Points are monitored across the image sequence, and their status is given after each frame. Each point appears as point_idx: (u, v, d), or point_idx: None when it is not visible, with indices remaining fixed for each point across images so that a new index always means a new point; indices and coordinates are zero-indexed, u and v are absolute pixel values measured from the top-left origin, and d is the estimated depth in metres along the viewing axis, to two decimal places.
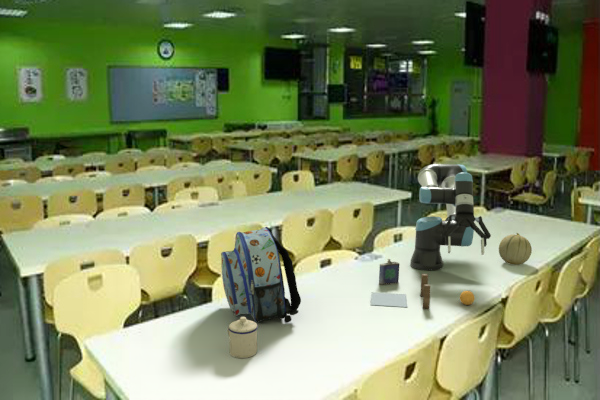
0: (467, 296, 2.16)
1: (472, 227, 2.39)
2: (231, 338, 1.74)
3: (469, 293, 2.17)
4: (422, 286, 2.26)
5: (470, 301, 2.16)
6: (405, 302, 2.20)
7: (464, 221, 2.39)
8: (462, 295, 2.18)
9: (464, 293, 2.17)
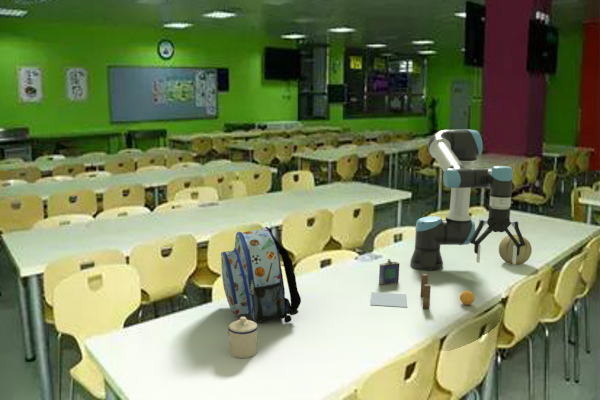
0: (467, 296, 2.16)
1: (506, 232, 2.13)
2: (231, 338, 1.74)
3: (469, 293, 2.17)
4: (422, 286, 2.26)
5: (470, 301, 2.16)
6: (405, 302, 2.20)
7: (497, 227, 2.11)
8: (462, 295, 2.18)
9: (464, 293, 2.17)
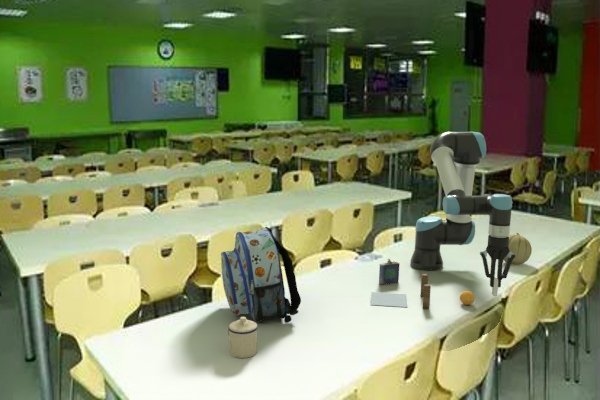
0: (467, 296, 2.16)
1: (498, 260, 2.14)
2: (231, 338, 1.74)
3: (469, 293, 2.17)
4: (422, 286, 2.26)
5: (470, 301, 2.16)
6: (405, 302, 2.20)
7: (496, 255, 2.13)
8: (462, 295, 2.18)
9: (464, 293, 2.17)
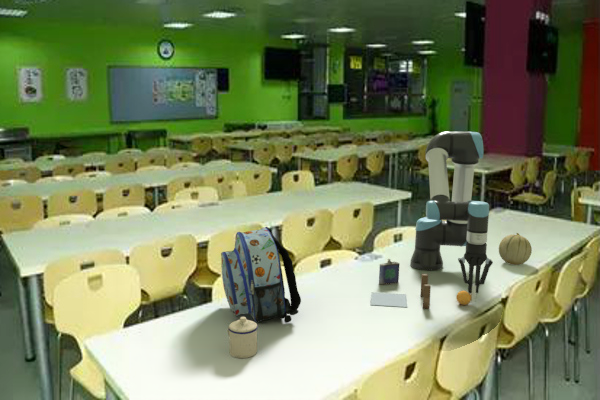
0: (463, 296, 2.16)
1: (476, 266, 2.17)
2: (231, 338, 1.74)
3: (464, 293, 2.17)
4: (422, 286, 2.26)
5: (467, 300, 2.16)
6: (405, 302, 2.20)
7: (474, 261, 2.15)
8: (458, 296, 2.18)
9: (459, 294, 2.18)
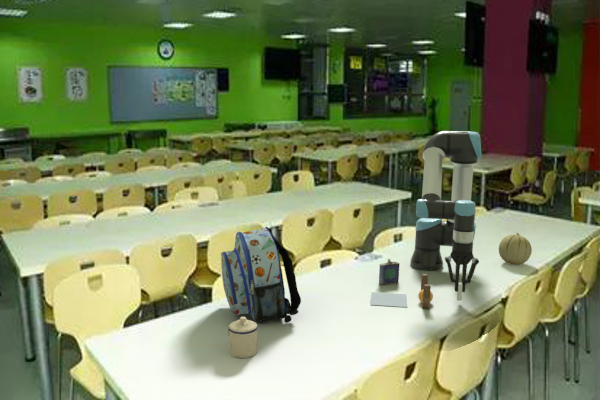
0: None
1: None
2: (231, 338, 1.74)
3: (431, 295, 2.19)
4: (422, 286, 2.26)
5: None
6: (405, 302, 2.20)
7: (460, 260, 2.15)
8: None
9: None
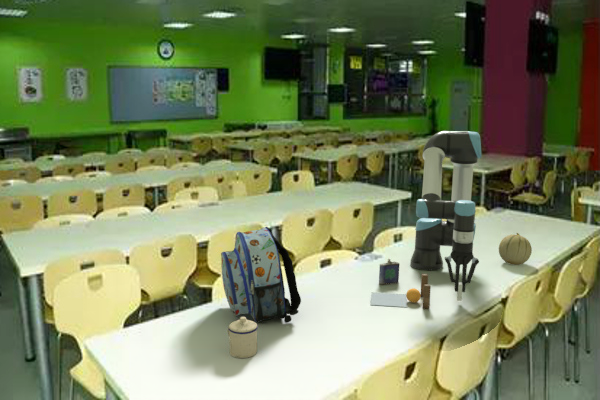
0: (411, 294, 2.19)
1: None
2: (231, 338, 1.74)
3: (411, 291, 2.19)
4: (422, 286, 2.26)
5: (416, 297, 2.18)
6: (405, 302, 2.20)
7: (460, 260, 2.15)
8: (407, 296, 2.20)
9: (407, 294, 2.20)
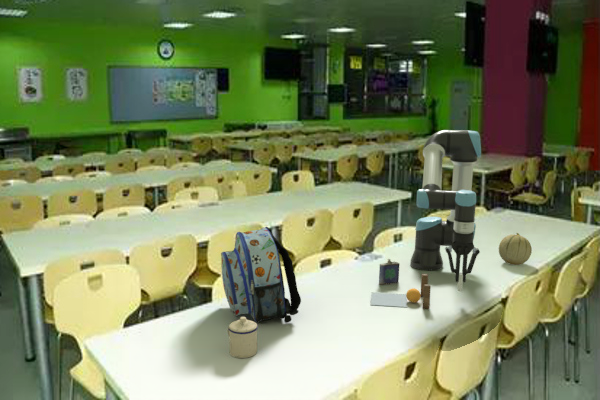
0: (411, 294, 2.19)
1: (463, 255, 2.16)
2: (231, 338, 1.74)
3: (411, 291, 2.19)
4: (422, 286, 2.26)
5: (416, 297, 2.18)
6: (405, 302, 2.20)
7: (461, 250, 2.15)
8: (407, 296, 2.20)
9: (407, 294, 2.20)
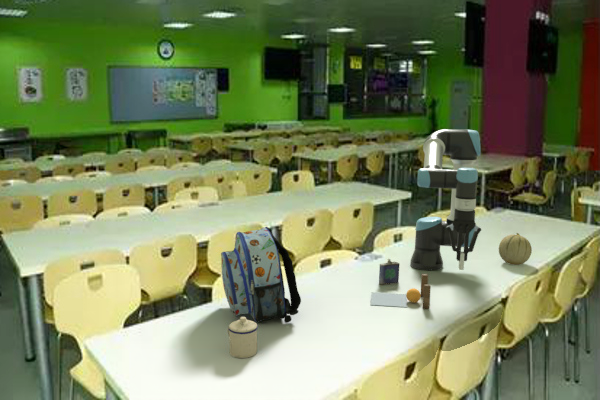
0: (411, 294, 2.19)
1: (464, 234, 2.15)
2: (231, 338, 1.74)
3: (411, 291, 2.19)
4: (422, 286, 2.26)
5: (416, 297, 2.18)
6: (405, 302, 2.20)
7: (463, 228, 2.13)
8: (407, 296, 2.20)
9: (407, 294, 2.20)
